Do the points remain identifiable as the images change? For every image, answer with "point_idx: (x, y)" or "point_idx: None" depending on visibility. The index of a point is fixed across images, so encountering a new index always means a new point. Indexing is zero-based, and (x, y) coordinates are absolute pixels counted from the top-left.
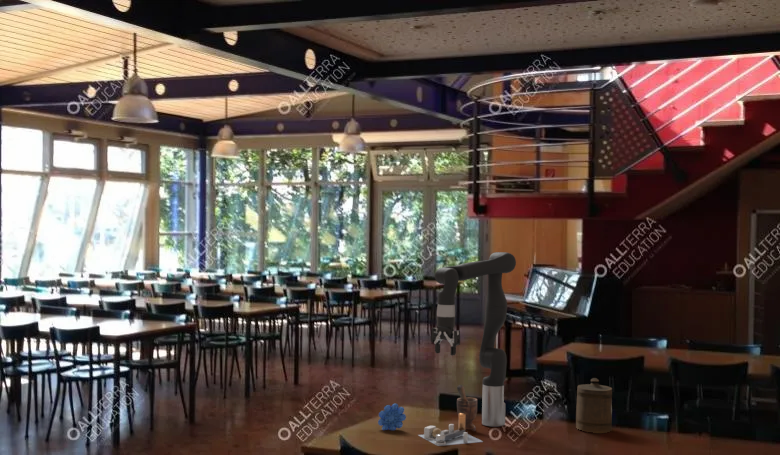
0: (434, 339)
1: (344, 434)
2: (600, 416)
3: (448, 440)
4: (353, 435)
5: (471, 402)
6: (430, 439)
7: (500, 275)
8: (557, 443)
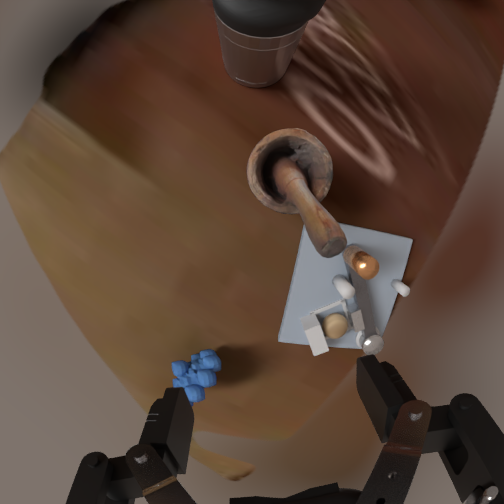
0: (117, 494)
1: None
2: None
3: None
4: None
5: (330, 183)
6: (330, 338)
7: None
8: (465, 91)
